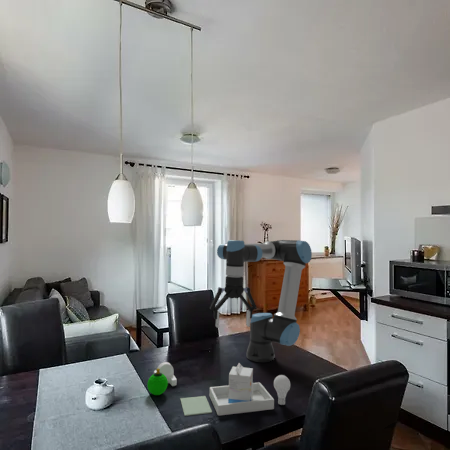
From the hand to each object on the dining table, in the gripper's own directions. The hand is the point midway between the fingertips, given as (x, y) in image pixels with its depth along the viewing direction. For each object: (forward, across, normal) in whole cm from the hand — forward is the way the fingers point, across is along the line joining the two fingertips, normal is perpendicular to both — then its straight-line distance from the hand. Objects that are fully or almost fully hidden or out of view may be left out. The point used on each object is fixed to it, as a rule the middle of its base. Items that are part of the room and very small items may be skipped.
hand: (232, 326), depth 139 cm
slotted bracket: (+27, +26, -13) cm, 40 cm away
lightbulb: (+26, -16, +16) cm, 35 cm away
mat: (+26, +17, +11) cm, 33 cm away
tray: (+26, -1, +12) cm, 29 cm away
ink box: (+26, -1, +12) cm, 28 cm away
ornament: (+27, +30, -1) cm, 40 cm away
